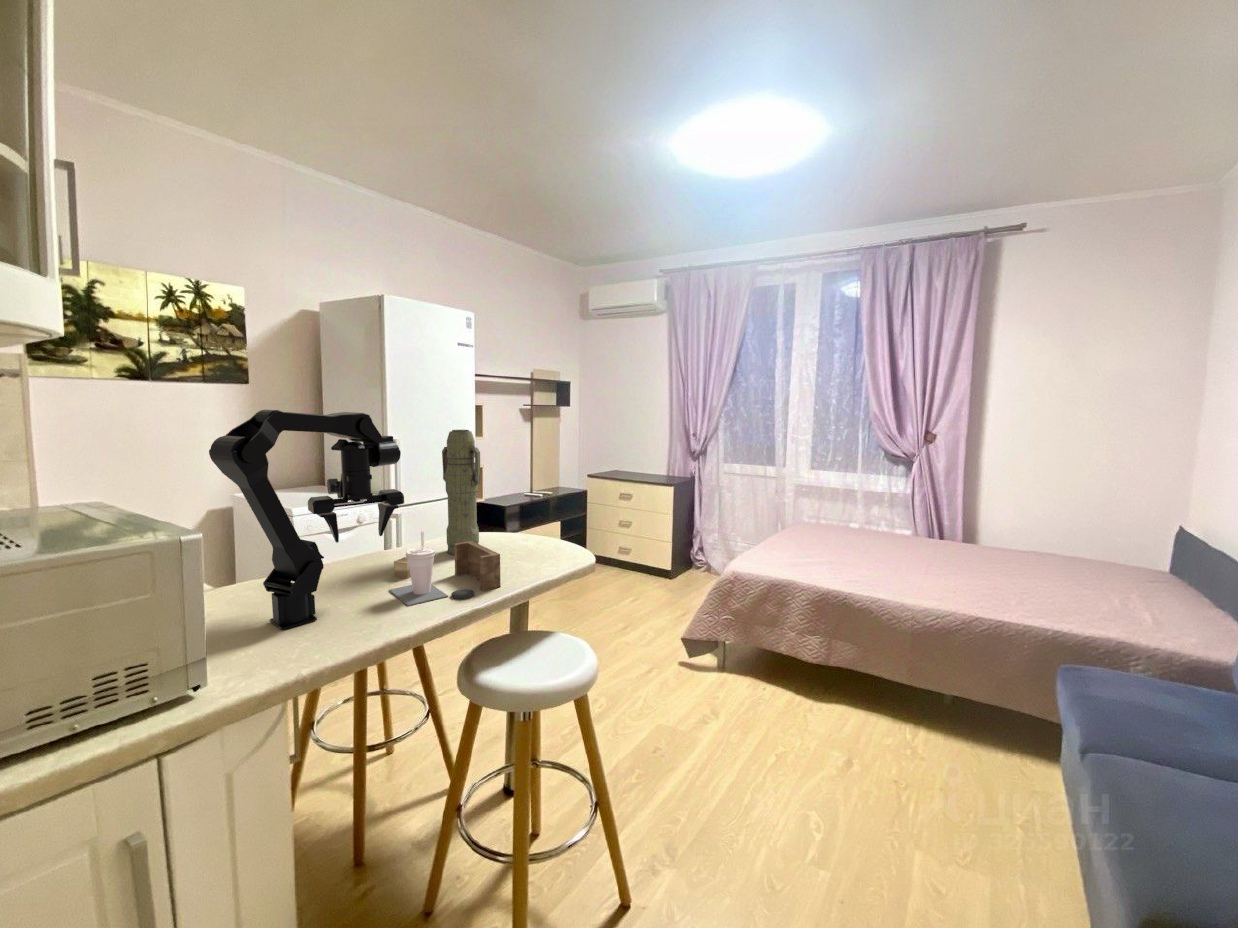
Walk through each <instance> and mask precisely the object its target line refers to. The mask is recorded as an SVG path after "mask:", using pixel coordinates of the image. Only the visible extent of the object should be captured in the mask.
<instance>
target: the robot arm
mask: <svg viewBox="0 0 1238 928" xmlns="http://www.w3.org/2000/svg"><path fill="white" fill-rule="evenodd" d="M283 431H286V432H306V433H308V432H309V433H323V434H327V435H330V436H332V437H337V438H338V440H337V442H336V443H334V444H333V445H332V446H331V447H330V449H331V451H337V452H338V451H339V452H340V464H341V473H340V481H339V480H338V478H328V479H327V480H326V483H327V485H326V486H327V487H326V488H327V493H328V495H323V496H322V495H321V496H312V497H311V496H310V498H309V499H308V500H307V510H308V511H309V512H310V513H311V514H312V515H317V516H319V517H320V518H323V519H324V521H325V522H326V524H327V526H328V528H329V530H330V532H331V535H332V537H333V540H334V541H335V543H336V544H337V543H339V542H340V540H339V539H340V535H339V534H340V533H339V525H338V517H337V513H336V512H334V510H335V509H336V508H344V507H351V506H360V505H370V504H377V508H378V536H380V537H382V536H384V535H383V534H384V532H385V530H386V527H387V526H388V522H389V520H390V518H391V516H392V514H393V513H394V511H395V510H396V509H399V505H403V504H405V496H404V493H403V492H402V491H400V490H399V489H395V488H390V489H382V490H379V491H378V494H373V493H372V483H371V482H372V481H371V480H372V479H373V475H372V474H371V468H377V467H384V466H391V465H395V464H397V463H398V462H399V461H400V459H401V457H402V456H401V454H402V453H401V450H400V447H399V445H398V444H397V442H395V441H394V436H393V435H381V433H380V431H379V430H378V429H377V427H376V425H375V424H374V422H373V419H372V417H371V415H370V414H368V413H366V412H349V411H348V412H347V411H343V412H334V413H329V414H315V413H302V412H290V411H289V412H288V411H287V412H286V411H282V410H280V409H279V410H278V409H261V410H258V411H257V412H256V413H255V414H254V415H252V416H251V417H250V418H249V419H247V420H246V421H244V422H242V423H241V424H239V425H237V426H236V427H234V428H232V429H231V430H229V432H227V433H226V434H225V435H222V436H219V437H217V438H216V439H215V440H214V441H213V442H212V443H211V445H210V449H208V455H209V458H210V459H211V461H212V462H213V464H214V465H215V466H216V467H217V469H218V470H219V471H221V473H222V475H224V476H226V477H227V478H228V479H229V480H230V481H232V482H233V483H234V484H235V485H237V486H238V487H239V488H238V489H240V491H241V493H242V495H243V496H244V499H245V500H246V502H247V504H248V506H249V508H250V509H251V511H252V512H253V514H254V517H255V518H256V519H257V522H258V524H259V525H260V527H261V528H262V530H263V532H264V534H265V536H266V538H267V539H268V541H269V543H270V545H271V546H272V555H271V561H272V566H273V567H274V568H273V569H272V570H271V572H269V574H268V576H267V577H266V578H265V580H264V581H263V583H262V585H263V587H264V589H265V591H266V592H267V593H268V592H270V593H271V606H272V607H271V608H272V617H271V618H270V619H269V622H270V623H271V624H272V625H274V626H276V627H277V628H279V629H280V630H287V629H291V628H295V627H298V626H302V625H304V624H308V623H312V622H315V621H317V620H318V617H317V616H316V601H315V600H316V599H315V598H316V597H315V595H314V594H313V593H315V592H317V590H318V586H319V582H320V579H321V575H322V571H323V570H324V561H323V559H325V556H323V555H322V554H321V552H320V549H319V547H318V545H317V543H316V541H313V540H305V539H302V538H301V537H300V536H299V534H298V533H297V531H296V529H295V527H294V524H293V523H292V521H291V520H290V517H289V515H288V513H287V512H286V510H285V507H284V506H283V504H282V502H281V500H280V498H279V496H278V494H277V492H276V490H275V489H274V487H273V485H272V483H271V482H270V479H269V477H268V474H269V459H268V457H267V453H268V452H269V451H270V450H272V448H273V447H274V446H275V444H276V442H277V441H278V438H279V435H280V434H281V433H282V432H283ZM347 439H348V440H347ZM334 494H335V495H337V498H333V497H331V496H329V495H334Z"/></svg>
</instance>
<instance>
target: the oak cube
mask: <svg viewBox="0 0 1238 928" xmlns="http://www.w3.org/2000/svg"><path fill="white" fill-rule="evenodd" d="M393 573H394V575H393V576H394V577H395V578H399V579H407V580H408V579H411V576H410V570H409V564H408V558H407V557H406V556H404V557H401V558H398V559H396V560H394V561H393Z"/></svg>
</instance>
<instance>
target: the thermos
mask: <svg viewBox="0 0 1238 928" xmlns="http://www.w3.org/2000/svg"><path fill="white" fill-rule="evenodd" d="M441 455H442V456H441V459H442V479H443V481H444V482H445V492H446V494H447V528H446V545H447V554H448V555H450V556H455V552H454V544H456V543H462V542H468V541H473V542H475V543H477V544H479V542H480V531H479V530H480V529H479V528H480V527H479V526H478V523H477V521H478V519H477V517H478V516H477V513H478V511H477V510H478V509H477V493H478V491H479V487H478V485H479V484H481V451H480V450H479V448H478V447H476V443H475V437H474V434H473V432H472V431H470V430H469V429H452V430H451V431H449V433H448V435H447V438H446V446H444V447H443V449H442V451H441Z"/></svg>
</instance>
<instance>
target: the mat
mask: <svg viewBox="0 0 1238 928" xmlns="http://www.w3.org/2000/svg"><path fill="white" fill-rule="evenodd" d="M388 591H389V592H390V594H391V595H394V596H395V597H396V598H397V599H398V600H400V601H401V602H402V603H403V604H404V605H406V606H407V607H411V606H415V605H418V604H422V603H423V604H424V603H428V602H432V601H437V600H440V599H446V598H449V595H448V594H446V593H445V592H443V591H442V590H440V589H439V588H437V586H434V585H433V584H432V583H431V590H430V592H429V593H427V594H422V595H417V594H414V593H413V587H412V584H409V585H403V586H399V587H395V588H391V589H388Z"/></svg>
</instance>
